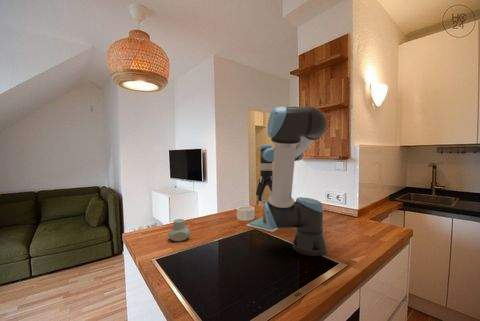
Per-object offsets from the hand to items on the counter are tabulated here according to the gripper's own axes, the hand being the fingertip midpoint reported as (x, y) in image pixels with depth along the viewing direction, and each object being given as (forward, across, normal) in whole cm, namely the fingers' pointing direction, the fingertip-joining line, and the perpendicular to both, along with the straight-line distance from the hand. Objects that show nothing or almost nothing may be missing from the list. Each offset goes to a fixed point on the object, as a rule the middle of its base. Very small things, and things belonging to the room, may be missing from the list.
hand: (266, 203), depth 133 cm
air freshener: (+13, +46, -26) cm, 55 cm away
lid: (+12, 0, 0) cm, 12 cm away
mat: (+13, 0, 0) cm, 13 cm away
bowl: (+13, -2, -18) cm, 22 cm away
